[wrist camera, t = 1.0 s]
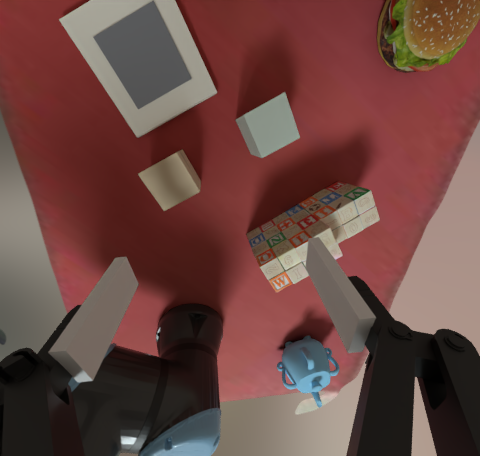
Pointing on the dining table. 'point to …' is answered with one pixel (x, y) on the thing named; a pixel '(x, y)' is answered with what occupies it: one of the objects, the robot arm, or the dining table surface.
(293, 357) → the teapot
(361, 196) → the stack of blocks
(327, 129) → the dining table surface
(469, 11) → the food
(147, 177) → the beech block
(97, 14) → the white square base plate
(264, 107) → the sage block
